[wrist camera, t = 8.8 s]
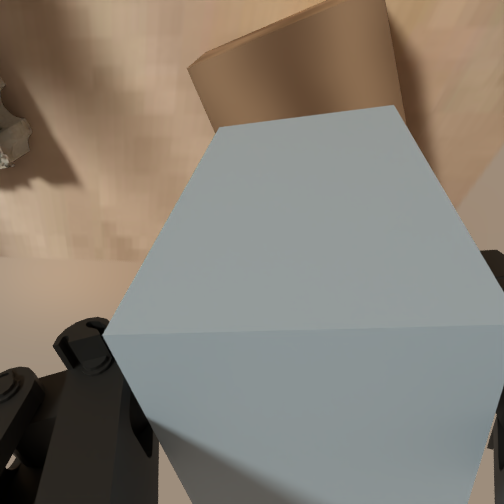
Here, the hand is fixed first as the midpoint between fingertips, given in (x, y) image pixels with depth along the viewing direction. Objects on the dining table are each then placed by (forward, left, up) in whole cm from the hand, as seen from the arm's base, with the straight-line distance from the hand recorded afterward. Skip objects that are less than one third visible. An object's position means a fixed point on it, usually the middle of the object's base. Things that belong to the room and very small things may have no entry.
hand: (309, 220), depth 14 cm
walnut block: (0, 0, -15) cm, 15 cm away
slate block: (0, 0, -2) cm, 2 cm away
